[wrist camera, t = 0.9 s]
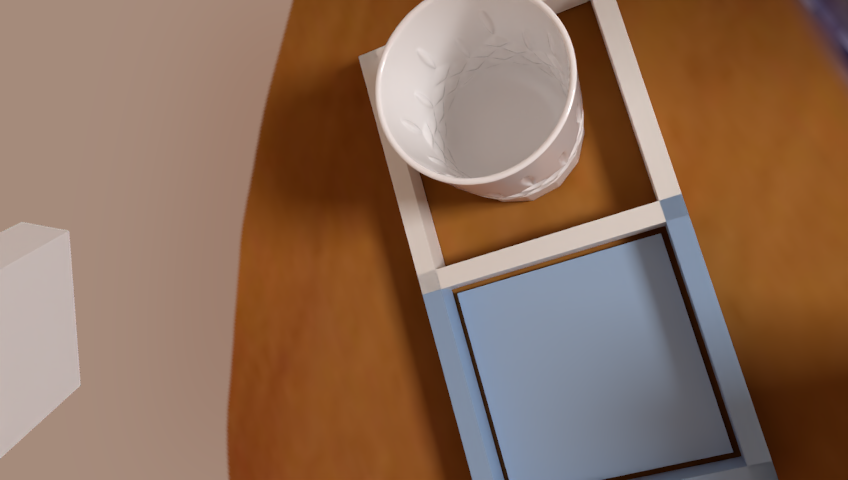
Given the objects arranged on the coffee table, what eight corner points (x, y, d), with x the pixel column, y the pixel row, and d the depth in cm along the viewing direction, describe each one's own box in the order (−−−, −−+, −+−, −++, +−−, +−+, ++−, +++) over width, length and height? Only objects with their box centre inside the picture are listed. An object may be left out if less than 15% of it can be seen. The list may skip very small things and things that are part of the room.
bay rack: (603, -25, 36) (601, -44, 34) (772, 473, 32) (780, 485, 30) (372, 68, 39) (358, 56, 37) (497, 527, 35) (488, 541, 33)
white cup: (629, 142, 35) (622, 83, 25) (506, 245, 36) (456, 227, 27) (527, 32, 37) (485, -62, 27) (415, 134, 38) (337, 79, 28)
